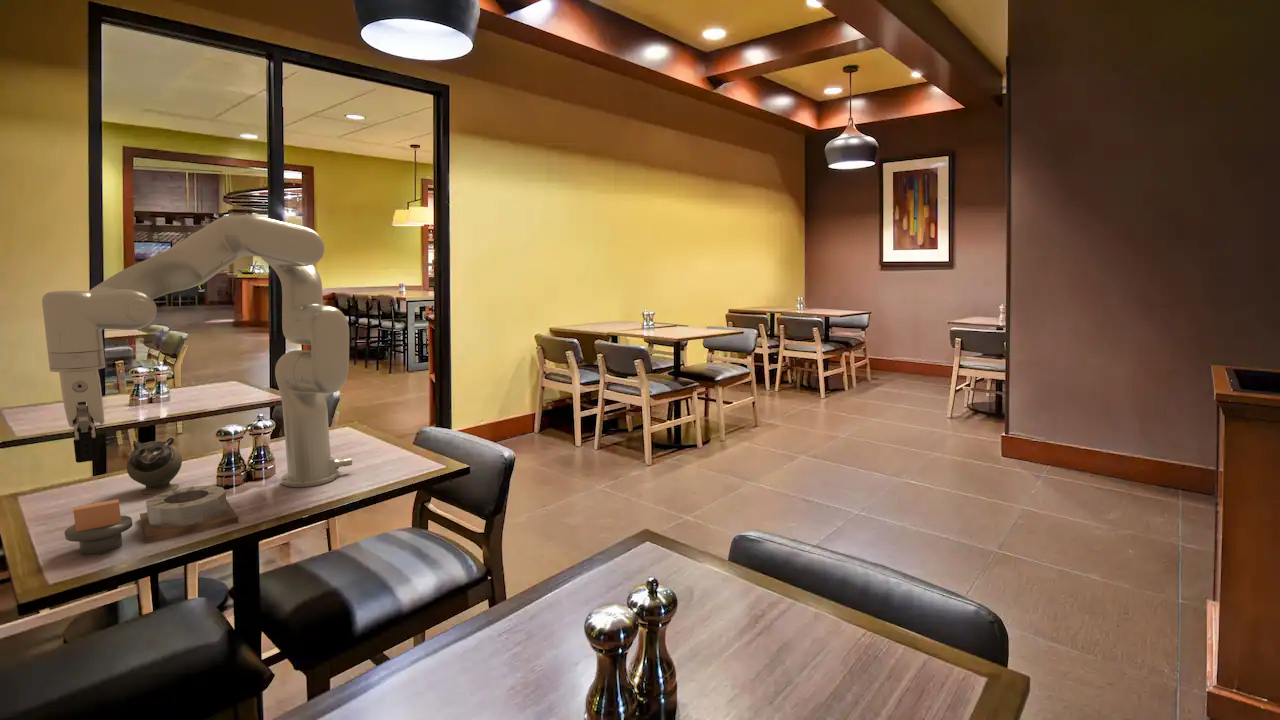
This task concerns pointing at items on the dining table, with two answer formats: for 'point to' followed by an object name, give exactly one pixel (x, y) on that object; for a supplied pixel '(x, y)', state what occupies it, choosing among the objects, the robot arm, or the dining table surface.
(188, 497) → the grey stone basin
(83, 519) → the multicoloured piece
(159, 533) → the mount plate
